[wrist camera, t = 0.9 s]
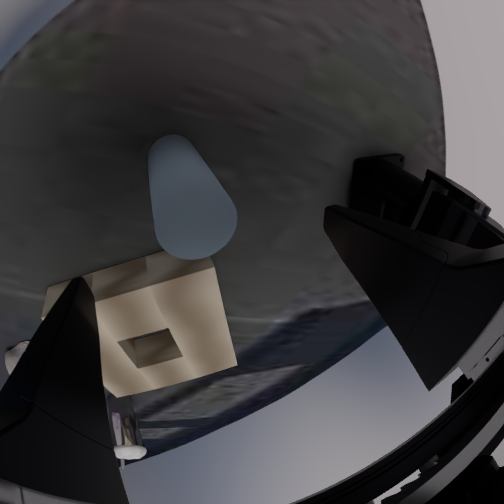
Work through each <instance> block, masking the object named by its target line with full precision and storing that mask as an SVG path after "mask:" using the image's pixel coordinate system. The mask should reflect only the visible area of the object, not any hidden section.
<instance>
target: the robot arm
mask: <svg viewBox="0 0 504 504" xmlns="http://www.w3.org/2000/svg"><path fill="white" fill-rule="evenodd" d="M404 160H405V157H404V156H403V155H402V154H392V155H384V156H376V157H368V158H360V159H357V160H356V161H355V163H354V172H353V182H352V192H351V200H350V208H346V207H343V206H339V205H331V206H327V207H326V208H325V211H324V224H323V226H324V230H325V232H326V234H327V236H328V237H329V239H330V240H331V242H332V244H333V246H334V247H335V249H336V251H337V252H338V254H339V256H340V257H341V259H342V260H343V262H344V263H345V265H346V266H347V268H348V269H349V270H350V272H351V273H352V274H353V276H354V277H355V279H356V280H357V281H358V283H359V284H360V286H361V287H362V288H363V290H364V291H365V293H366V294H367V296H368V297H369V298H370V300H371V301H372V303H373V304H374V306H375V307H376V309H377V310H378V312H379V313H380V315H381V316H382V318H383V319H384V321H385V322H386V324H387V325H388V327H389V328H390V329H391V331H392V333H393V334H394V336H395V337H396V339H397V340H398V342H399V343H400V345H401V346H402V348H403V350H404V352H405V353H406V355H407V356H408V358H409V360H410V361H411V363H412V364H413V366H414V368H415V369H416V371H417V373H418V374H419V376H420V378H421V379H422V381H423V383H424V385H425V386H426V388H427V389H428V391H430V390H431V389H433V388H434V387H435V386H436V385H438V384H439V383H440V382H441V381H442V380H444V379H445V378H446V377H447V376H448V375H449V374H450V373H452V372H453V371H454V370H455V369H456V368H457V367H459V368H460V369H461V371H462V372H463V373H464V374H463V375H462V376H460V377H459V379H458V380H456V381H455V382H454V383H453V384H452V392H451V404H450V405H449V406H448V407H447V408H446V409H445V410H444V411H443V412H442V413H440V414H439V415H438V416H437V417H436V418H435V419H433V420H432V421H431V422H430V423H428V424H427V425H426V426H425V427H424V428H422V429H421V430H420V431H418V432H417V433H416V434H415V435H413V436H412V437H411V438H409V439H408V440H407V441H405V442H404V443H402V444H401V445H399V446H398V447H397V448H395V449H394V450H392V451H391V452H389V453H388V454H386V455H385V456H383V457H381V458H380V459H378V460H377V461H375V462H374V463H372V464H370V465H369V466H367V467H365V468H363V469H362V470H360V471H358V472H357V473H355V474H353V475H351V476H349V477H347V478H346V479H344V480H342V481H340V482H338V483H336V484H334V485H332V486H330V487H328V488H325V489H323V490H321V491H319V492H317V493H314V494H312V495H310V496H308V497H305V498H303V499H300V500H298V501H296V502H293V503H290V504H374V500H373V499H375V498H377V497H378V496H380V495H382V494H383V493H385V492H386V491H388V490H389V489H391V488H392V487H394V486H395V485H397V484H398V483H400V482H401V481H403V480H404V479H405V478H407V477H408V476H410V475H411V474H412V473H414V472H415V471H416V470H418V469H419V470H420V472H421V473H420V474H419V475H418V476H419V478H418V479H416V480H414V481H412V482H410V483H408V484H405V485H404V486H402V487H401V491H400V492H398V493H397V494H394V495H391V496H389V497H386V498H385V499H383V500H381V504H504V466H503V467H499V466H498V465H497V463H496V461H495V460H494V458H493V456H490V455H491V453H492V452H493V451H494V450H495V449H496V448H497V446H498V445H499V444H500V443H501V441H502V440H503V439H504V229H503V227H502V226H501V225H500V224H499V223H497V222H496V221H495V220H493V219H492V218H491V217H489V216H488V215H489V213H490V211H491V208H490V207H489V206H487V205H486V204H485V203H484V202H483V201H481V200H480V199H479V198H478V197H476V196H475V195H474V194H473V193H471V192H470V191H469V190H467V189H465V188H464V187H462V186H461V185H459V184H457V183H456V182H454V181H452V180H451V179H448V178H447V177H444V176H442V175H440V174H438V173H436V172H434V171H431V170H429V169H427V171H426V174H425V175H426V177H425V179H424V181H422V180H420V179H419V178H417V177H415V176H414V175H412V174H410V173H409V172H407V171H405V170H403V166H404ZM360 163H361V164H360ZM359 165H360V166H359ZM0 504H129V501H128V498H127V495H126V492H125V489H124V485H123V482H122V478H121V475H120V471H119V467H118V463H117V458H116V454H115V451H114V446H113V441H112V436H111V431H110V426H109V420H108V414H107V408H106V401H105V393H104V385H103V376H102V365H101V352H100V337H99V329H98V322H97V315H96V306H95V298H94V295H93V293H92V291H91V289H90V287H89V286H88V284H87V282H86V281H85V279H84V278H83V277H77V278H74V279H72V280H71V281H70V283H69V284H68V285H67V287H66V288H65V289H64V291H63V292H62V294H61V295H60V296H59V298H58V299H57V301H56V302H55V304H54V305H53V306H52V308H51V309H50V311H49V312H48V314H47V315H46V317H45V318H44V320H43V321H42V323H41V324H40V326H39V328H38V329H37V331H36V332H35V334H34V335H33V337H32V339H31V340H30V342H29V344H28V345H27V347H26V349H25V351H24V352H23V354H22V356H21V357H20V359H19V361H18V362H17V364H16V366H15V368H14V369H13V371H12V373H11V374H10V376H9V378H8V379H7V381H6V383H5V384H4V386H3V388H2V389H1V391H0Z"/></svg>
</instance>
